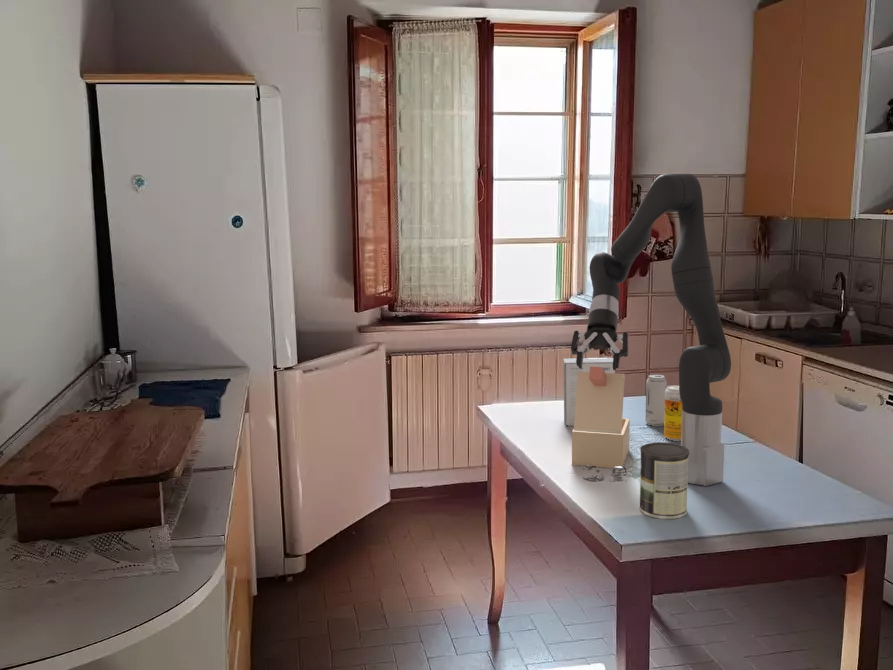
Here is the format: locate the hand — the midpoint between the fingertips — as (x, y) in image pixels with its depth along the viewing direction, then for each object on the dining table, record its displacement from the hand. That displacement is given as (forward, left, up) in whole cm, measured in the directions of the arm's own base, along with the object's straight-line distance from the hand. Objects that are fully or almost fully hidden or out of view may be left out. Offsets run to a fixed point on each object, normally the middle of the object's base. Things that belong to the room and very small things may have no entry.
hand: (597, 367), depth 202 cm
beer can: (+8, -36, -27) cm, 45 cm away
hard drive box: (+34, -26, -27) cm, 50 cm away
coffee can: (-30, +6, -27) cm, 40 cm away
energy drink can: (+22, -42, -27) cm, 54 cm away
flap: (+3, -3, -10) cm, 11 cm away
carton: (+6, -7, -26) cm, 28 cm away
